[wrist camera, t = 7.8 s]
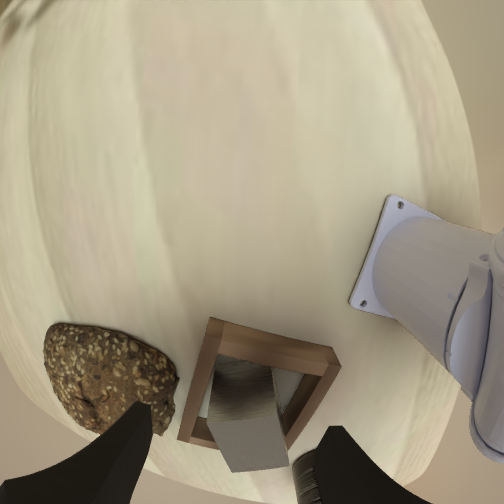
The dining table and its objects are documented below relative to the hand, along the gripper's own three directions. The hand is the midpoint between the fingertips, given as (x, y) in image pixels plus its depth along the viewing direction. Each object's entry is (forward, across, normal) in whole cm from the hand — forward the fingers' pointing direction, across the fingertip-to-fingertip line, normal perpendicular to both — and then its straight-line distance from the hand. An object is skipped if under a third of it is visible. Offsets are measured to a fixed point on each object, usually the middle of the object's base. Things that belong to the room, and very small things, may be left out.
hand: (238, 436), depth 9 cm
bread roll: (+10, +10, +8) cm, 17 cm away
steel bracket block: (+10, -2, +5) cm, 11 cm away
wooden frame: (+9, -2, +6) cm, 11 cm away
